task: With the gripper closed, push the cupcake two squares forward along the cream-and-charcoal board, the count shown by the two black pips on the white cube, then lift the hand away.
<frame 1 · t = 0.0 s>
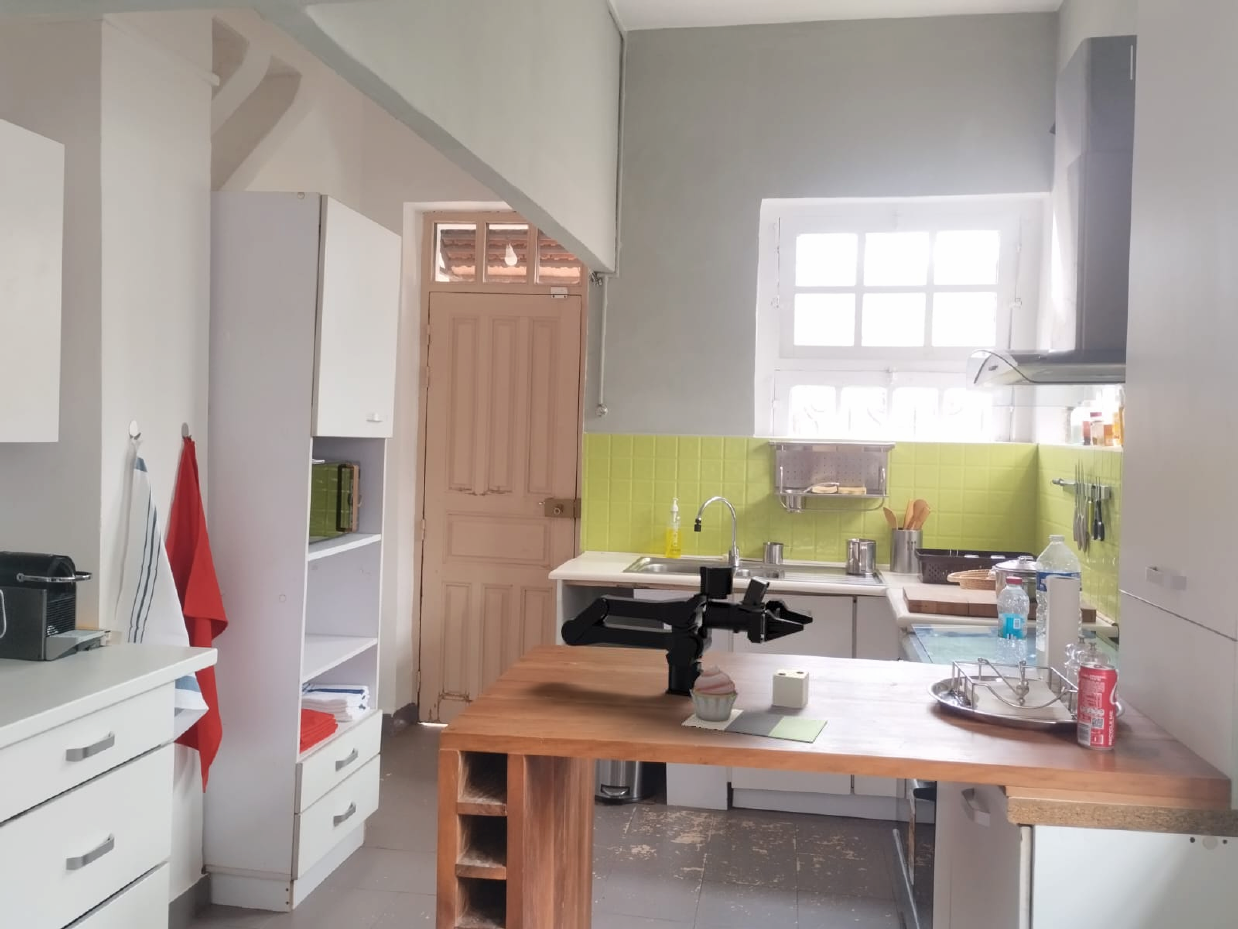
hand: (808, 623, 193), 17 cm above the counter, tool horizontal, fingers open, 9 cm apart
game board: (755, 723, 181), on the counter
cupcake: (713, 718, 184), resting on game board
white cube: (790, 703, 196), on the counter
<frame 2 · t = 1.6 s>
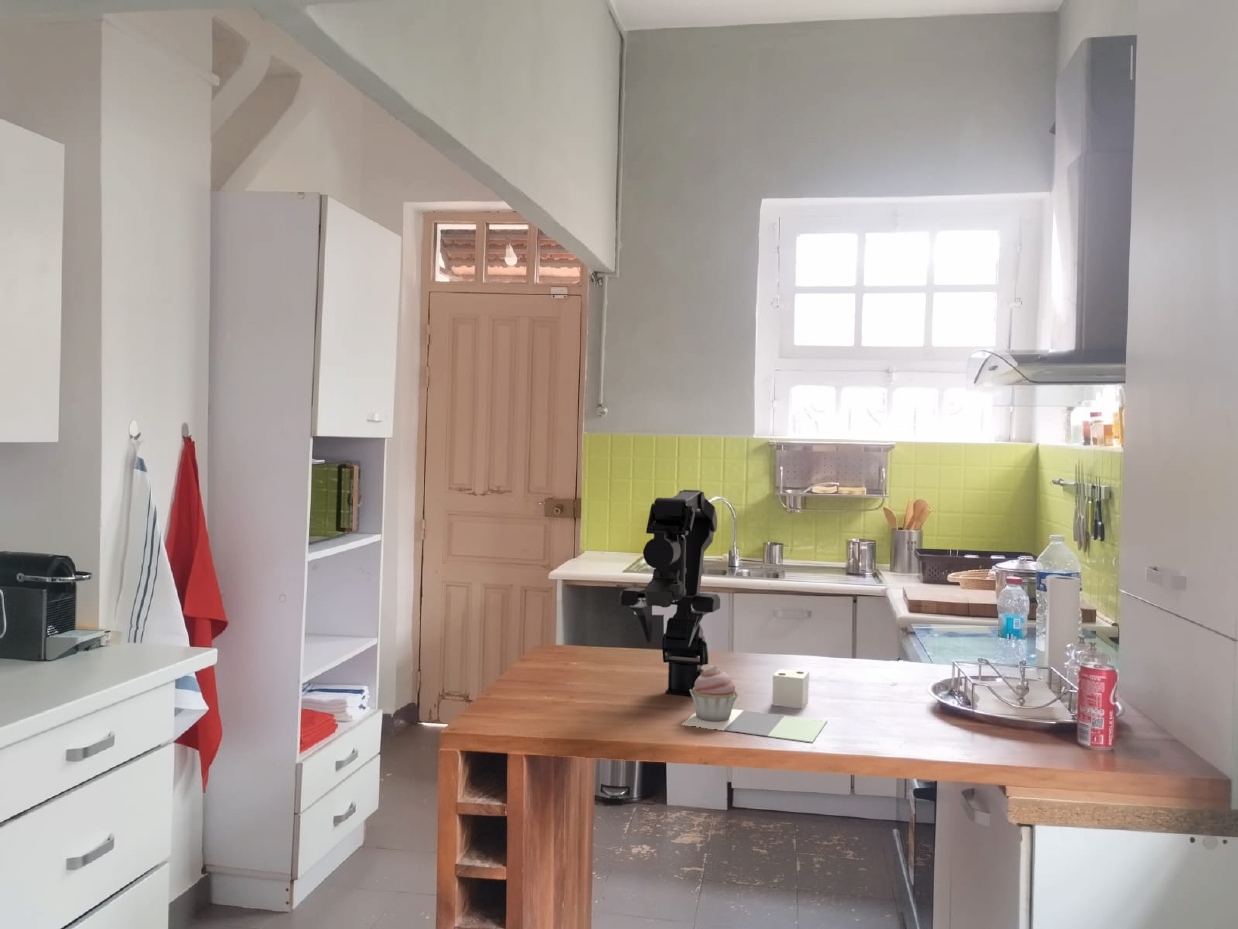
hand: (668, 644, 187), 13 cm above the counter, tool pointing down, fingers open, 8 cm apart
nothing on the counter moved.
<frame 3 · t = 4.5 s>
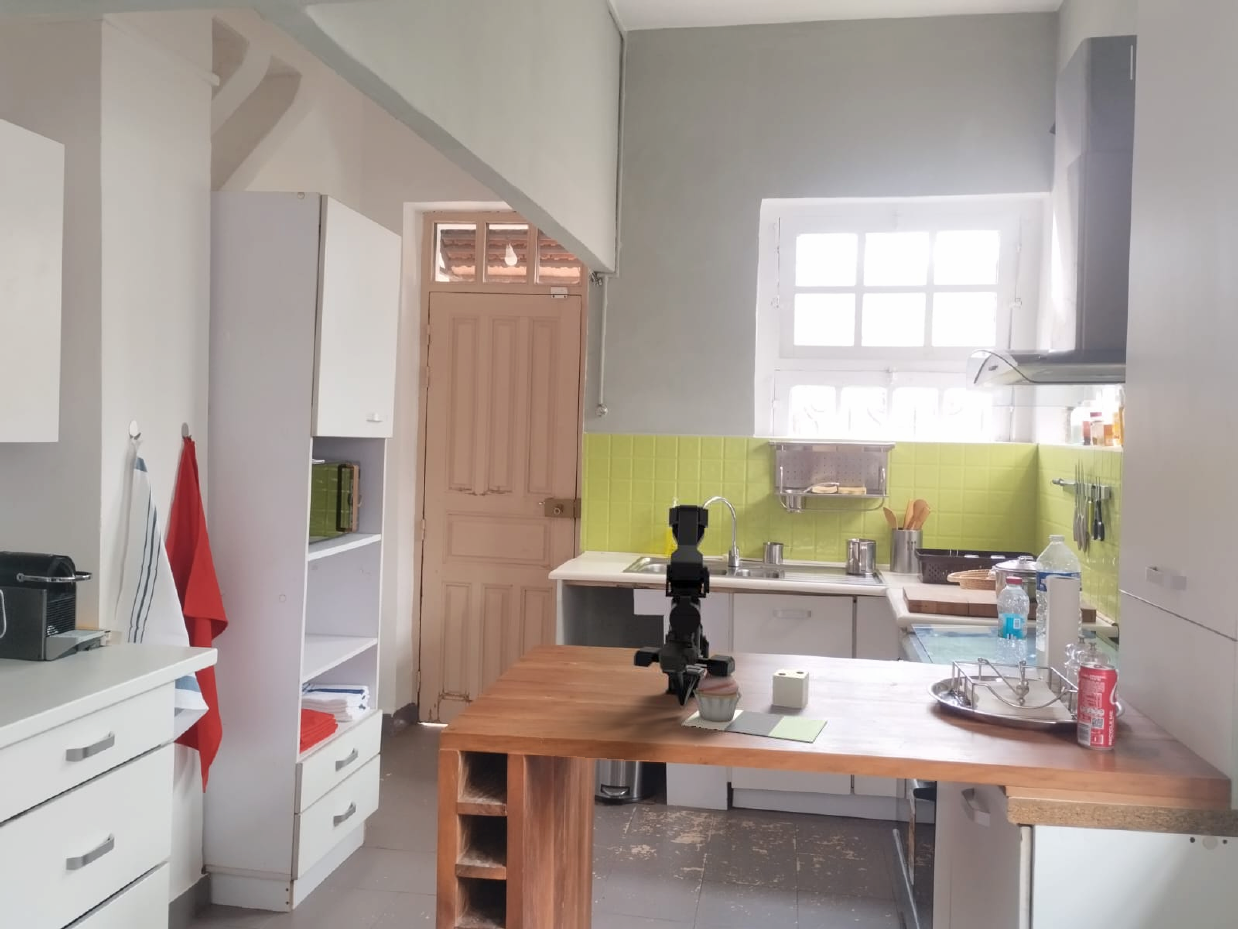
hand: (682, 706, 186), 2 cm above the counter, tool pointing down, fingers closed
cupcake: (717, 718, 184), resting on game board, touching gripper
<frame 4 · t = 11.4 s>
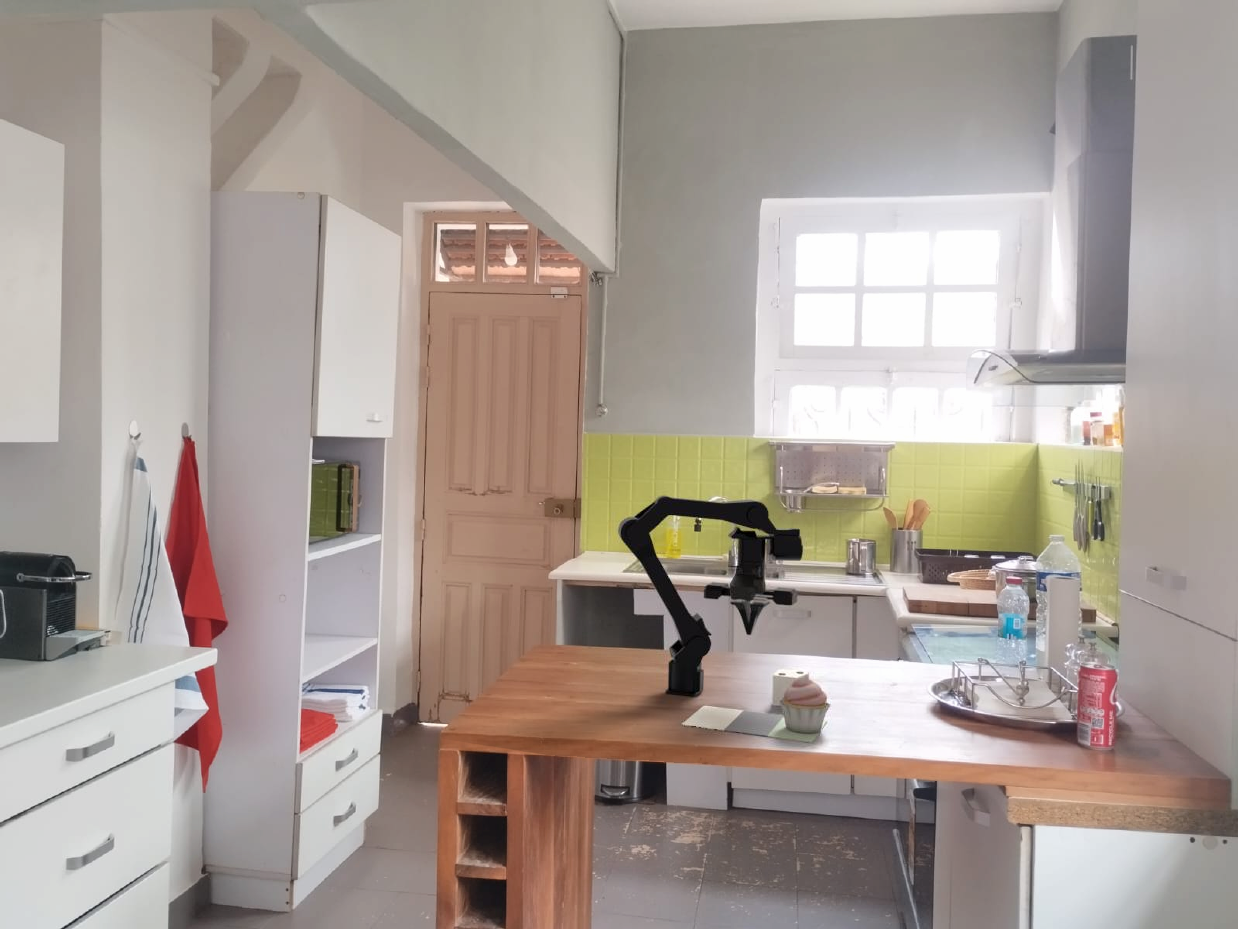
hand: (749, 634, 204), 12 cm above the counter, tool pointing down, fingers closed
cupcake: (804, 730, 178), resting on game board
at the end: cupcake inside the target area (1.1 cm from its centre), resting on game board; cupcake tilted 0° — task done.
